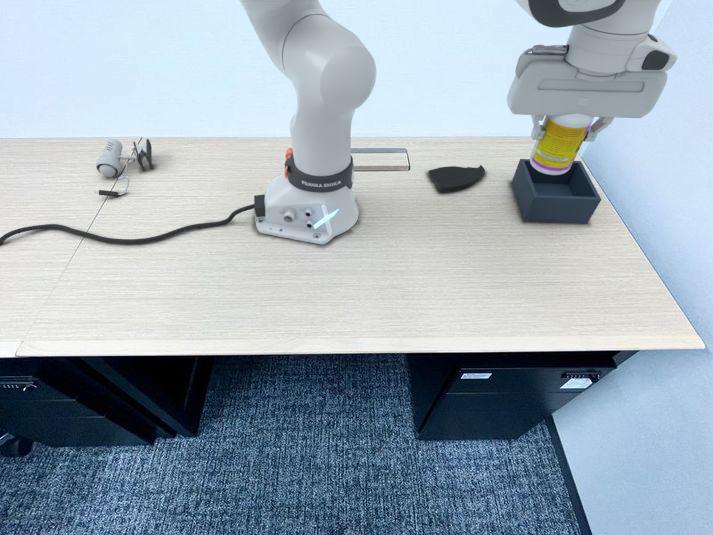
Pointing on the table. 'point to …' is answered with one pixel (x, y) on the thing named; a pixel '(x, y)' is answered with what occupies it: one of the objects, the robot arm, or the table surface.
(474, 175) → the curved wedge
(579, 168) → the tub
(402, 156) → the table surface
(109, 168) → the clip-on lamp
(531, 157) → the supplement bottle
